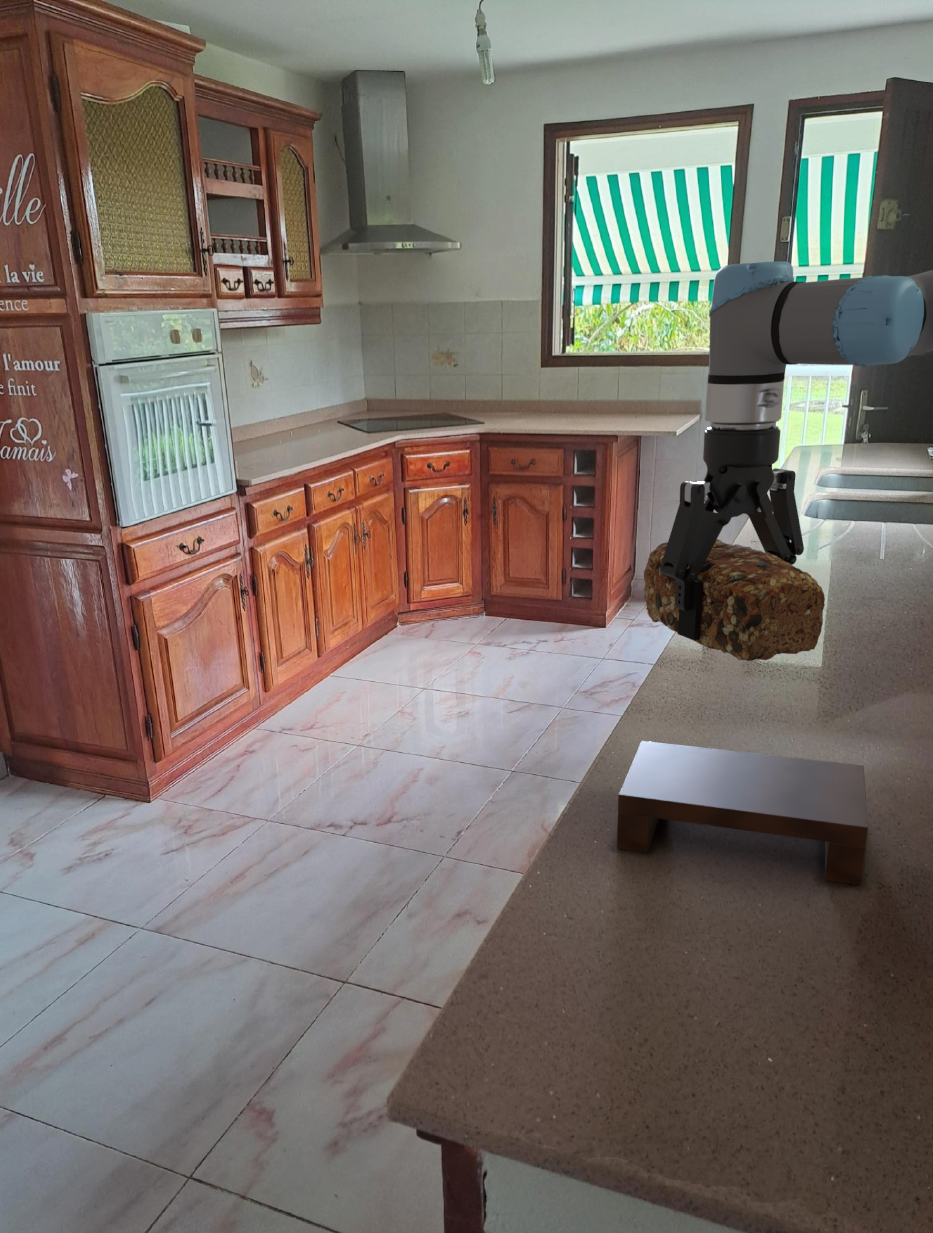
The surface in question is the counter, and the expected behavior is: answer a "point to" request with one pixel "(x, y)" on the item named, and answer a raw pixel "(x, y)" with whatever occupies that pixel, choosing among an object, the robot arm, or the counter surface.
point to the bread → (744, 602)
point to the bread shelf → (748, 799)
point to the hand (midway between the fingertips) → (729, 627)
